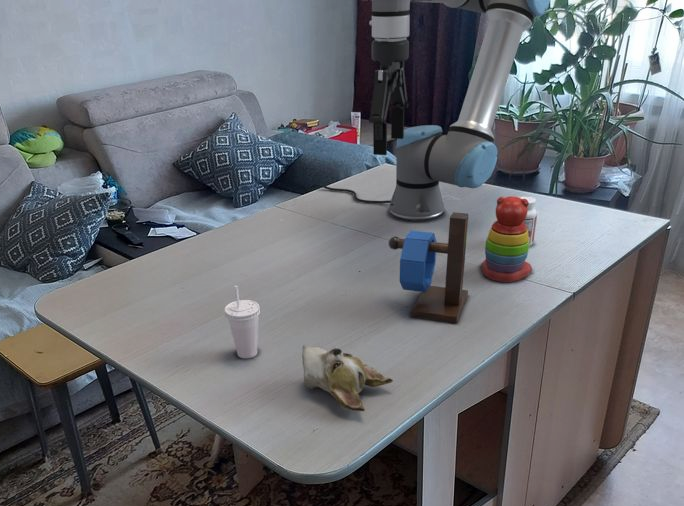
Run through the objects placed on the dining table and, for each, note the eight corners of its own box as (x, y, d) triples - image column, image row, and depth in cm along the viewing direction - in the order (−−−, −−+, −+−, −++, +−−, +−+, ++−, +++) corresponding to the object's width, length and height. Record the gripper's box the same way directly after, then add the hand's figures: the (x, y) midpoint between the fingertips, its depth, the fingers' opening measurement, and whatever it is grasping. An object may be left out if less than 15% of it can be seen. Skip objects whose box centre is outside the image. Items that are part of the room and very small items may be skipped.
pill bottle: (518, 236, 164) (523, 193, 158) (538, 242, 160) (544, 199, 154) (502, 242, 161) (507, 199, 155) (522, 249, 157) (528, 205, 151)
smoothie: (231, 345, 124) (222, 279, 116) (264, 343, 124) (257, 276, 117) (229, 363, 118) (219, 295, 111) (264, 361, 119) (257, 292, 111)
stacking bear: (532, 267, 148) (543, 192, 139) (524, 286, 141) (534, 207, 131) (485, 261, 152) (493, 187, 143) (475, 278, 145) (481, 201, 135)
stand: (380, 312, 133) (380, 219, 122) (395, 287, 142) (397, 199, 132) (456, 323, 128) (463, 227, 117) (467, 296, 137) (475, 205, 127)
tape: (398, 296, 130) (400, 244, 124) (412, 274, 139) (414, 224, 133) (422, 299, 128) (424, 246, 122) (434, 277, 137) (437, 226, 131)
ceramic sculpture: (320, 322, 112) (397, 350, 105) (320, 363, 117) (393, 392, 110) (284, 351, 105) (363, 383, 98) (285, 393, 109) (361, 426, 103)
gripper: (389, 31, 141) (388, 131, 152) (352, 47, 121) (354, 160, 132) (423, 31, 138) (419, 133, 150) (391, 47, 119) (389, 163, 130)
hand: (389, 146), depth 141 cm, fingers open, 13 cm apart
